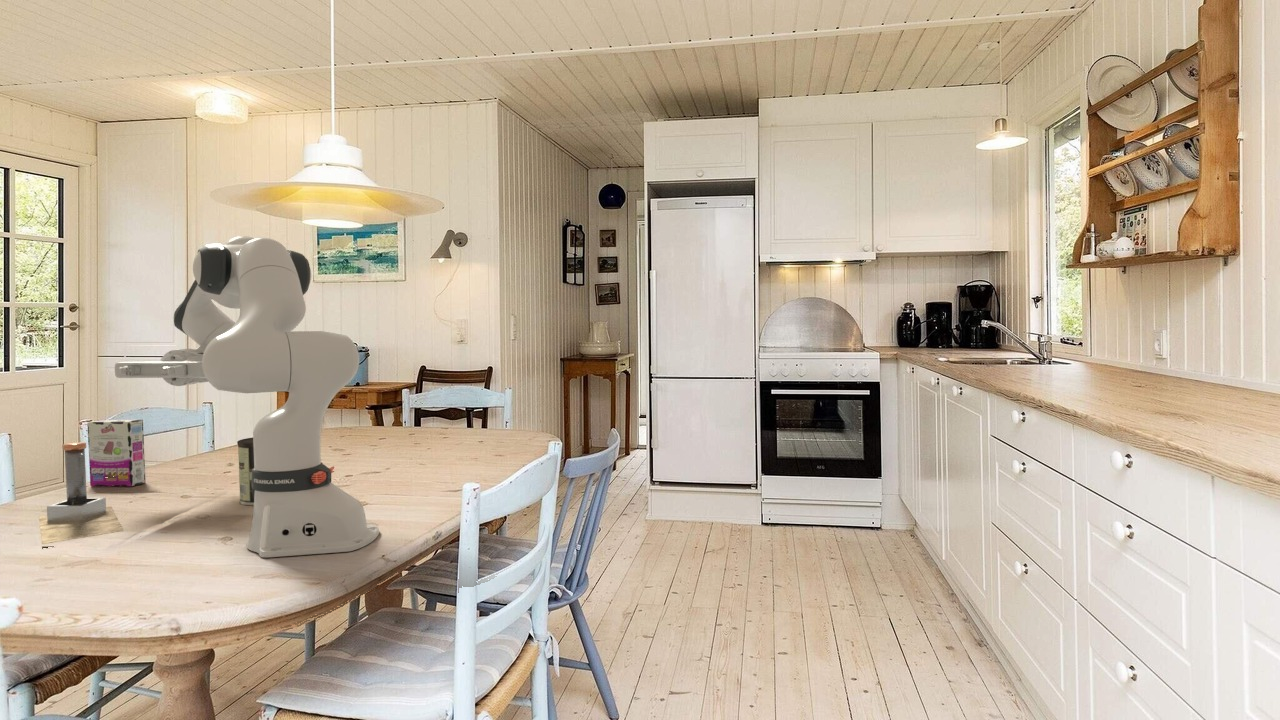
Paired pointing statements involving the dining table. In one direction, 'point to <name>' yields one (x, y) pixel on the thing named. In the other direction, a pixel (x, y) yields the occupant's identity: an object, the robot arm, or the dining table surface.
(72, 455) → the pin
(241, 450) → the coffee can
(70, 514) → the shallow grey tray
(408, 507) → the dining table surface
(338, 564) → the dining table surface
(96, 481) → the candy bar box
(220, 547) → the dining table surface
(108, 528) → the tan wooden board
